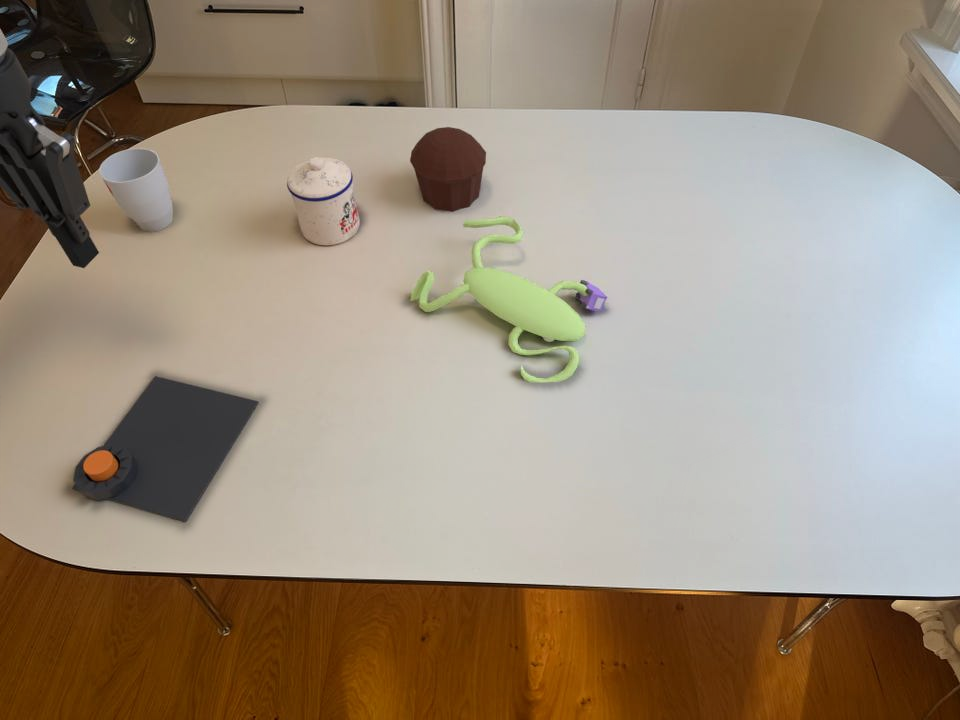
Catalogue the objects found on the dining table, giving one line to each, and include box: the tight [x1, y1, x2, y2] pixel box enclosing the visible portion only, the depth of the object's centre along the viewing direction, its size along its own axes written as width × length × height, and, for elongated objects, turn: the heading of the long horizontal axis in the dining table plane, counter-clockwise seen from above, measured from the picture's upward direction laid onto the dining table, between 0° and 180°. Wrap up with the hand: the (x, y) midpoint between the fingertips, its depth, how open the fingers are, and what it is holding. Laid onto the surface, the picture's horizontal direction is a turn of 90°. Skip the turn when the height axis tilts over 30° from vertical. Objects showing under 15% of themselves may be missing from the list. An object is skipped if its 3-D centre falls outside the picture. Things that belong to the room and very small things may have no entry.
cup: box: [98, 147, 174, 233], centre depth 103 cm, size 8×8×10 cm
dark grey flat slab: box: [71, 375, 260, 523], centre depth 79 cm, size 14×16×3 cm
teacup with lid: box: [286, 156, 361, 246], centre depth 101 cm, size 12×9×12 cm
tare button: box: [83, 450, 118, 481], centre depth 75 cm, size 3×3×2 cm
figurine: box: [409, 215, 608, 384], centre depth 91 cm, size 18×27×6 cm
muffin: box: [409, 126, 487, 213], centre depth 105 cm, size 12×11×10 cm
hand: (86, 259), depth 80 cm, fingers closed
